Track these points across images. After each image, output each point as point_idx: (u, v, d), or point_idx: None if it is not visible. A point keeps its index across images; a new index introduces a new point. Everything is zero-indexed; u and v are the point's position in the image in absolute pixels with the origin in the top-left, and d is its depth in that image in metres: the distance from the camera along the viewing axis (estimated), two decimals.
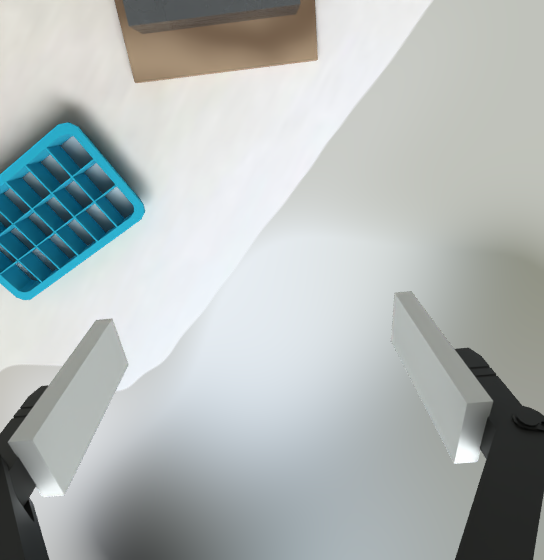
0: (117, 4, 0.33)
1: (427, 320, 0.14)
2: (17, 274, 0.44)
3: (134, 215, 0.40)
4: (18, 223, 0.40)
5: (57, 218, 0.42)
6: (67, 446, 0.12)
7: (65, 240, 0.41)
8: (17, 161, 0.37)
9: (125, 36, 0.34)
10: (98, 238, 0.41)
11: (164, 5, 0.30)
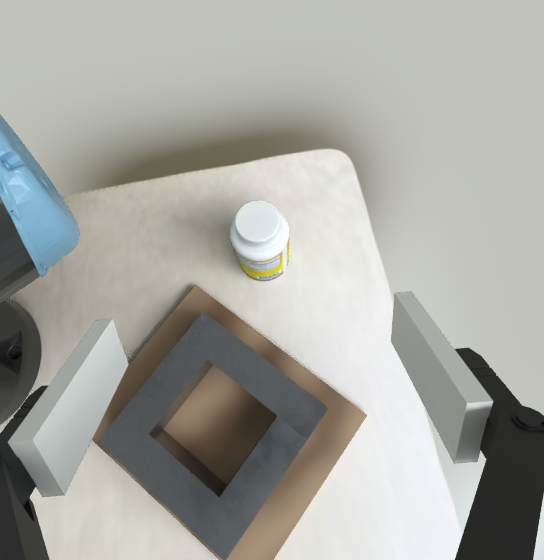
0: (199, 538, 0.33)
1: (427, 320, 0.14)
2: None
3: None
4: None
5: None
6: (67, 446, 0.12)
7: None
8: None
9: None
10: None
11: (240, 514, 0.30)
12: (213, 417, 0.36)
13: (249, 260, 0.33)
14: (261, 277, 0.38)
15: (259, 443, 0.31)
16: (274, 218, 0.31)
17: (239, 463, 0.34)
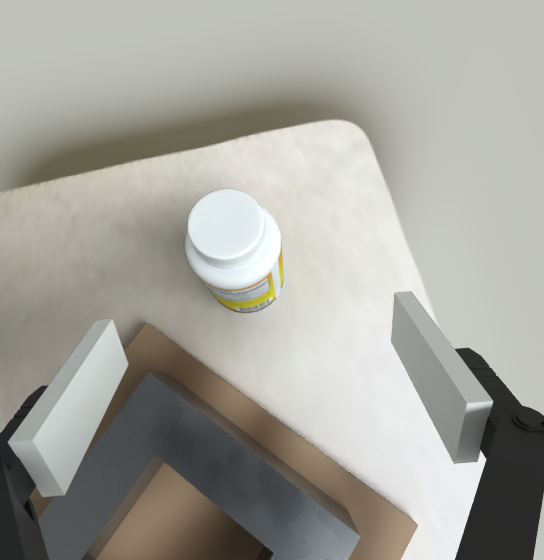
0: None
1: (427, 320, 0.14)
2: None
3: None
4: None
5: None
6: (67, 446, 0.12)
7: None
8: None
9: None
10: None
11: None
12: (174, 537, 0.22)
13: (218, 288, 0.20)
14: (243, 309, 0.25)
15: None
16: (254, 218, 0.18)
17: None
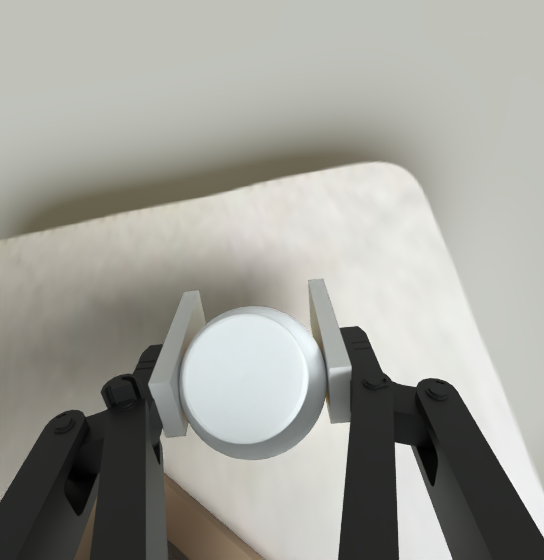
0: None
1: (326, 302, 0.16)
2: None
3: None
4: None
5: None
6: None
7: None
8: None
9: None
10: None
11: None
12: None
13: None
14: None
15: None
16: (292, 369, 0.11)
17: None
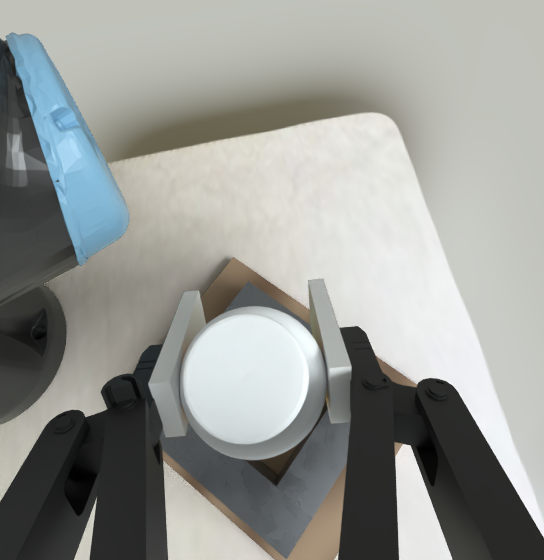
0: (250, 534, 0.29)
1: (326, 302, 0.16)
2: None
3: None
4: None
5: None
6: None
7: None
8: None
9: (275, 556, 0.29)
10: None
11: (301, 505, 0.26)
12: None
13: None
14: None
15: (319, 425, 0.27)
16: (292, 369, 0.11)
17: (291, 450, 0.31)
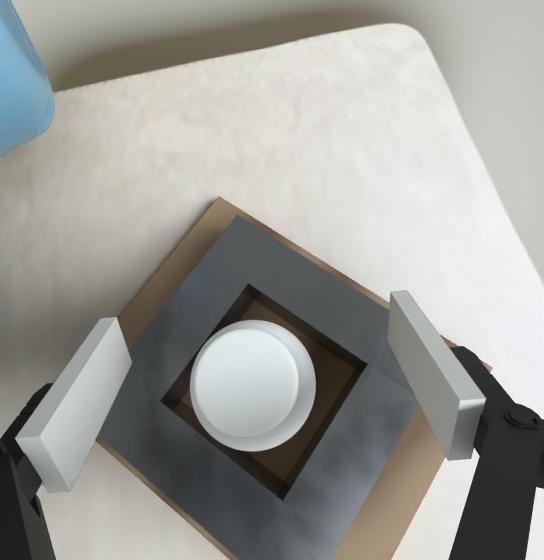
0: None
1: (422, 319, 0.14)
2: None
3: None
4: None
5: None
6: (73, 443, 0.13)
7: None
8: None
9: None
10: None
11: (320, 529, 0.17)
12: None
13: None
14: None
15: (343, 409, 0.19)
16: (284, 374, 0.13)
17: (301, 447, 0.22)
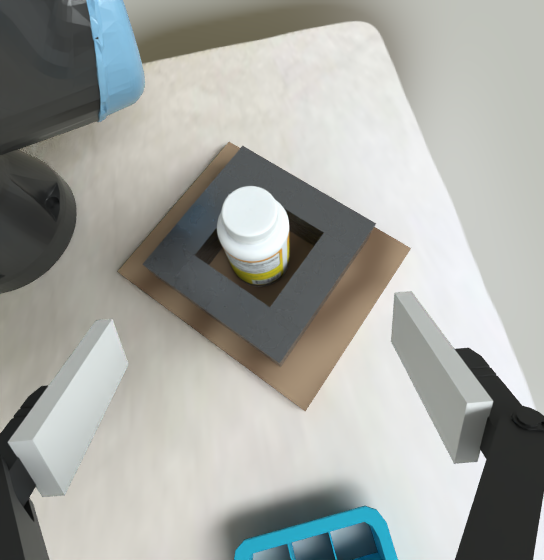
0: (247, 366, 0.32)
1: (427, 320, 0.14)
2: None
3: (378, 528, 0.27)
4: None
5: None
6: (67, 446, 0.12)
7: None
8: None
9: (270, 382, 0.32)
10: None
11: (292, 321, 0.29)
12: None
13: (242, 260, 0.27)
14: (258, 281, 0.32)
15: (307, 257, 0.31)
16: (270, 207, 0.25)
17: None
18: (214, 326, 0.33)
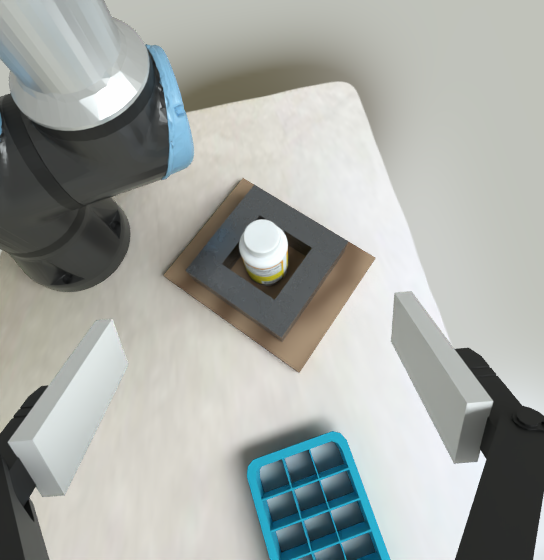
0: (258, 341, 0.46)
1: (427, 320, 0.14)
2: None
3: (341, 444, 0.40)
4: None
5: (328, 536, 0.39)
6: (67, 446, 0.12)
7: (351, 535, 0.38)
8: (265, 537, 0.38)
9: (274, 352, 0.45)
10: (357, 497, 0.39)
11: (290, 309, 0.42)
12: None
13: (256, 268, 0.41)
14: (266, 282, 0.46)
15: (300, 265, 0.44)
16: (275, 233, 0.39)
17: None
18: (234, 314, 0.47)
